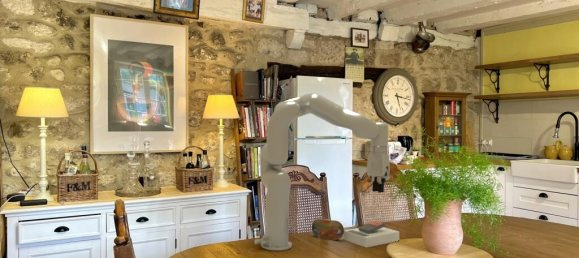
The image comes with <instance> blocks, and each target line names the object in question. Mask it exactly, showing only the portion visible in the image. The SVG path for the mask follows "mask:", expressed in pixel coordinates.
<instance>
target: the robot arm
mask: <svg viewBox="0 0 579 258" xmlns="http://www.w3.org/2000/svg"><path fill="white" fill-rule="evenodd" d="M273 110H274V111H273V113H272V114H271V116H270V118H269V121H268V123H267V129H266V143H265V144H264V145H263V146H262V147H261V149H260V155H259V156H260V158H259V159H260V161H259V162H260V163H259V164H260V165H259V166H260V181H261V183H262V185H263V186H264V187H265V188H266V196H265V217H264V218H265V221H264V225H265V228H264V235H262V237H261V238H256V239H254V240H253V241H254V245H260V246H261V248H262V249H264V250H267V251H276V252H277V251H286V250H289V249H291V248H292V247H293V244H292V242H291V241H289V217H290V215H289V213H290V210H289V209H290V207H289V206H290V193H291V185H292V182H291V176H289V174H288V173H287V172H286V171H284V170H283V165H285V164H286V163H287V161H288V160H289V159H288V158H289V148H288V146H289V145H288V144H289V143H288V140H289V136H288V135H289V129H290V126H291V124H292V123H293V122H294V121H295V120H298V118H299V117H303V116H305V115H310V114H311V115H314V116H316V117H317V118H320V119H321V120H324V121H325V122H327V123H329V124H331V125H333V126H336V127H340V128H344V129H348V130H350V131H352V134H353V136H354V137H355V138H357V139H362V140H370V147H369V151H370V152H369V153H368V156H367V161H366V162H367V163H366V174H367V175H366V176H367V177H369V178H370V181H371V183H372V190H371V191H372V192H377V193H378V194H381V193H384V192H385V184H386V182H387V181H388V180H389V179H391V174H390V172H391V171H390V170H391V166H390V165H391V164H390V163H391V162H390V156H389V155H390V154H389V124H388V123H387V122H379V121H378V122H376V121H374V120H371V119H370V118H368V117H366V116H364V115H362V114H360V113H358V112H355V111H353V110H350V109H348V108H346V107H343V106H340V104H337V103H335V102H333V101H331V100H329V99H328V98H326V97H325V96H322V95H320V94H318V93H315V92H313V93H307V94H303V95H300V96H297V97H294V98H290V99H288V100H287V99H286V100H284V101H281V102H278V104H276V105H275V106H274V109H273Z"/></svg>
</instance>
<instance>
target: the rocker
mask: <svg viewBox="0 0 579 258" xmlns="http://www.w3.org/2000/svg"><path fill="white" fill-rule="evenodd" d="M382 227H385V228H386V225H385V223H383V222H379V221H376V220H374V221H371V222H368V223H366V224H364V225H361V226H358V228H359V231H363V232H366V233H371V232H373V231H375V230H378V229H380V228H382Z"/></svg>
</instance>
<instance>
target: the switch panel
mask: <svg viewBox="0 0 579 258" xmlns="http://www.w3.org/2000/svg"><path fill="white" fill-rule="evenodd" d="M398 240H399V241H400V231H398V230H394V229H391V228H387V227H386V226H385V227H382V228H380V229H378V230H375V231H373V232H371V233H366V232H363V231H359V227H358V228H357V227H356V228H351V229H344V233H343V241H346V242H349V243H352V244H355V245H357V246H361V247H363V248H372V247H376V246H381V245H386V244H390V243H396V242H399V241H398ZM395 241H396V242H395Z"/></svg>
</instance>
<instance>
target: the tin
mask: <svg viewBox="0 0 579 258" xmlns="http://www.w3.org/2000/svg"><path fill="white" fill-rule="evenodd" d="M311 230H312V234H313V235H314V236H315V237H316V238H319V239H325V240H330V241H338V240H340V239H341V238H342V237H344V230H345V228H344V226H343V224H342V223H341V221H338V220H334V219H328V218H327V219H326V218H317V219H315V220H314V221H313V222H312V224H311Z"/></svg>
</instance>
